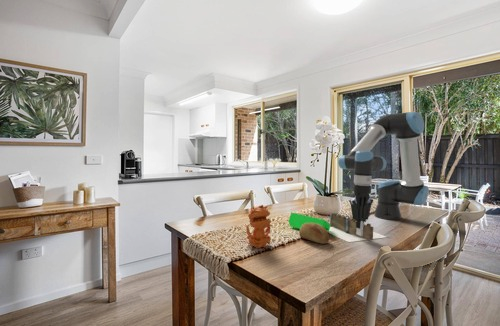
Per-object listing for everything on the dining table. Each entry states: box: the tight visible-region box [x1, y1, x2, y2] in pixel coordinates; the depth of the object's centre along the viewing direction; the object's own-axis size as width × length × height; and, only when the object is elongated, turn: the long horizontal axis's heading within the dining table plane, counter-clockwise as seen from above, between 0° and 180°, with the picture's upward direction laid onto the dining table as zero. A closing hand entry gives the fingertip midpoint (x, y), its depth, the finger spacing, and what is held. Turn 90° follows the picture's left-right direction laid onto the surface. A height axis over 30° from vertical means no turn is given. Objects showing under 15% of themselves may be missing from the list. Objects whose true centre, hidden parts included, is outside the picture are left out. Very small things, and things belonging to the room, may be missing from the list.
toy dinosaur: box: [245, 204, 272, 249], centre depth 108 cm, size 11×11×18 cm
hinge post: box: [345, 216, 351, 233], centre depth 128 cm, size 2×2×8 cm
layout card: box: [327, 226, 387, 243], centre depth 129 cm, size 23×23×1 cm
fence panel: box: [349, 218, 374, 241], centre depth 121 cm, size 12×1×7 cm, turn 30°
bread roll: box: [298, 223, 330, 245], centre depth 116 cm, size 10×15×8 cm, turn 39°
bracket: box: [288, 212, 331, 231], centre depth 133 cm, size 20×10×7 cm, turn 44°
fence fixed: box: [329, 212, 347, 231], centre depth 135 cm, size 2×12×8 cm, turn 20°
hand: (359, 234), depth 119 cm, fingers closed
